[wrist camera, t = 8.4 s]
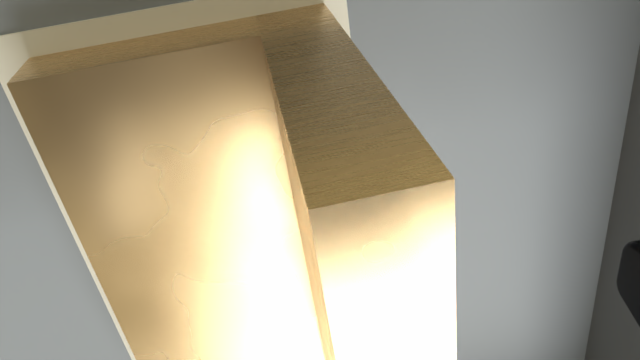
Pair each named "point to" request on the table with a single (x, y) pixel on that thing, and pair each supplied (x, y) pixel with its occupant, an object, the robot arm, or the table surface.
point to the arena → (439, 131)
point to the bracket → (250, 192)
